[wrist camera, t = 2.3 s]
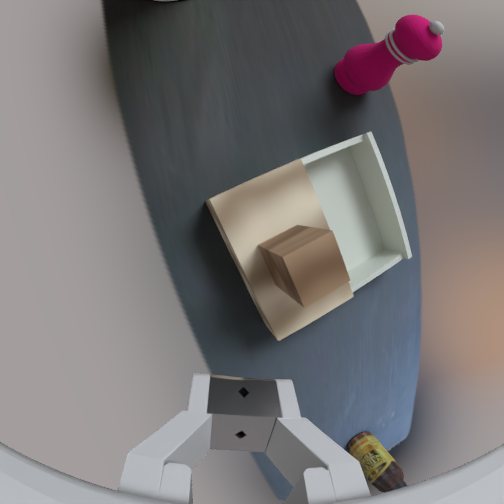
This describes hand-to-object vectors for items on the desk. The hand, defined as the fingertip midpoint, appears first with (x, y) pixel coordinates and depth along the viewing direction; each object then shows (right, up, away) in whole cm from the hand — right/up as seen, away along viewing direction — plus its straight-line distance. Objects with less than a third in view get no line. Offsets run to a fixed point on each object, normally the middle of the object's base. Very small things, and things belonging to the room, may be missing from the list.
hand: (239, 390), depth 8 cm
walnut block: (+4, +4, +24) cm, 25 cm away
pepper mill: (+16, +31, +29) cm, 45 cm away
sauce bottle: (+23, -35, +41) cm, 58 cm away
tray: (+13, +10, +32) cm, 36 cm away
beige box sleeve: (+3, +5, +30) cm, 31 cm away
